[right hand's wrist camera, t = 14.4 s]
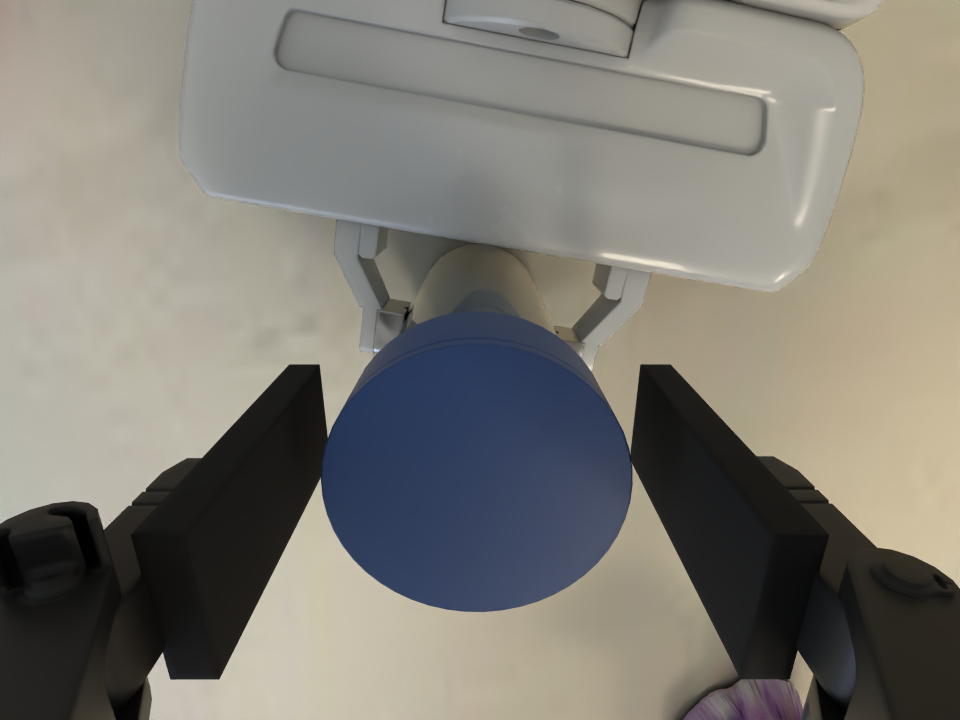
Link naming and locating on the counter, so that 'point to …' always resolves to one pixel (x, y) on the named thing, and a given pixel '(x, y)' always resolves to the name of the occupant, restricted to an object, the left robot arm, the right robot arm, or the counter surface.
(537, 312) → the grey tall cylinder
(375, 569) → the lid
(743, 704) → the figurine
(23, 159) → the counter surface
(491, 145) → the left robot arm
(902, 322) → the counter surface
